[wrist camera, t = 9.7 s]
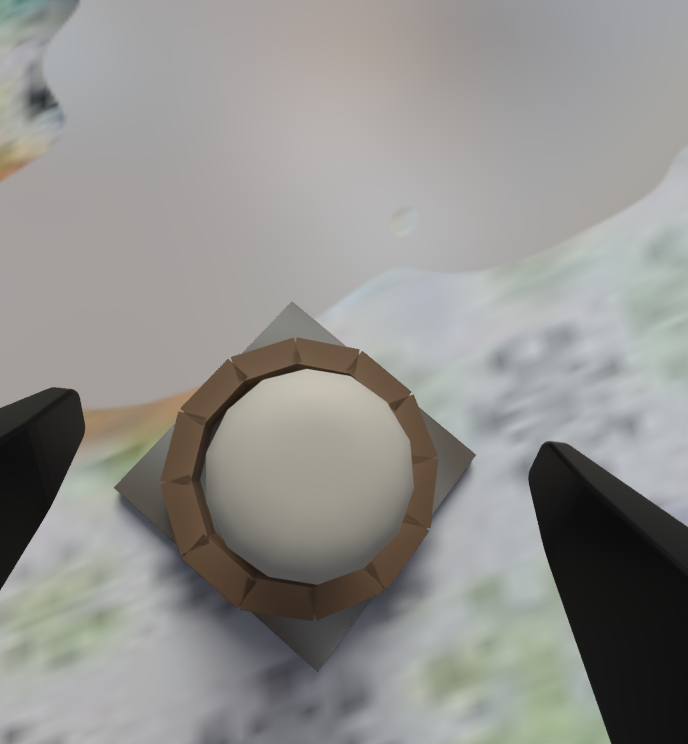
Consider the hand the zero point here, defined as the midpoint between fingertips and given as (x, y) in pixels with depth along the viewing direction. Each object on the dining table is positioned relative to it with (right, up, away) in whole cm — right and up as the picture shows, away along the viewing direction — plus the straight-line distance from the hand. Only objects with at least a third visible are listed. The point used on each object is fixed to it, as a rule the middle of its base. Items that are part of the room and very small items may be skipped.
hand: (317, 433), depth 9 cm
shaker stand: (-1, -4, +13) cm, 13 cm away
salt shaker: (-1, -4, +12) cm, 13 cm away
